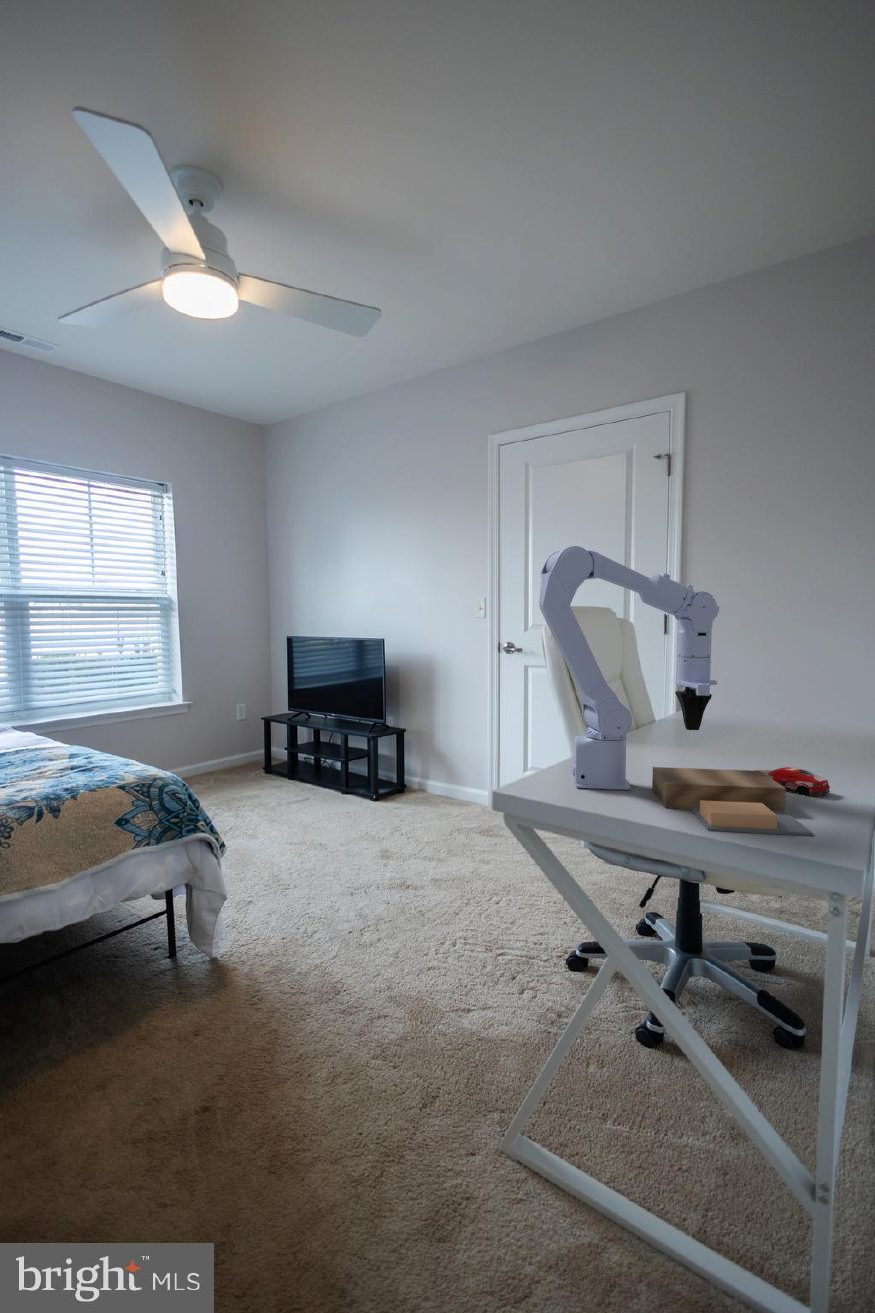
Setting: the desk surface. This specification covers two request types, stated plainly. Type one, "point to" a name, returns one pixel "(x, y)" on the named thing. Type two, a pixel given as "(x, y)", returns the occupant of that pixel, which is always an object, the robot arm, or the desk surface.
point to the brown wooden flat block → (715, 787)
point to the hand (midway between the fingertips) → (692, 729)
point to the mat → (784, 826)
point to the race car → (799, 781)
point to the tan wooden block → (738, 814)
